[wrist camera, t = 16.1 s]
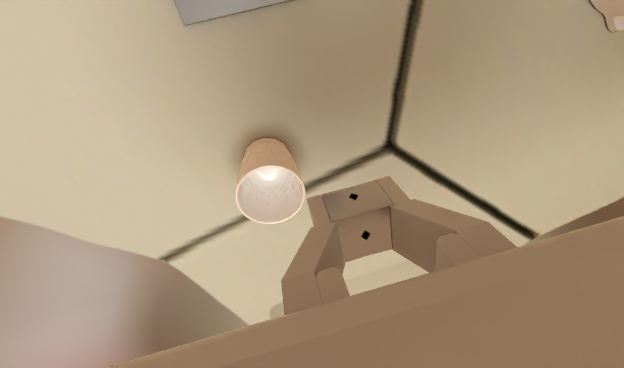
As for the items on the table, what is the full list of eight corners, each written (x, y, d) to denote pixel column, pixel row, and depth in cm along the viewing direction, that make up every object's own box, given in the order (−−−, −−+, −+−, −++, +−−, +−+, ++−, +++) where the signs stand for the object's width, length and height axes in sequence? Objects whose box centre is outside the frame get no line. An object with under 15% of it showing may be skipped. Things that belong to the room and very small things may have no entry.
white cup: (249, 125, 37) (247, 156, 29) (303, 143, 40) (316, 177, 32) (232, 174, 41) (226, 215, 32) (283, 188, 43) (290, 230, 35)
